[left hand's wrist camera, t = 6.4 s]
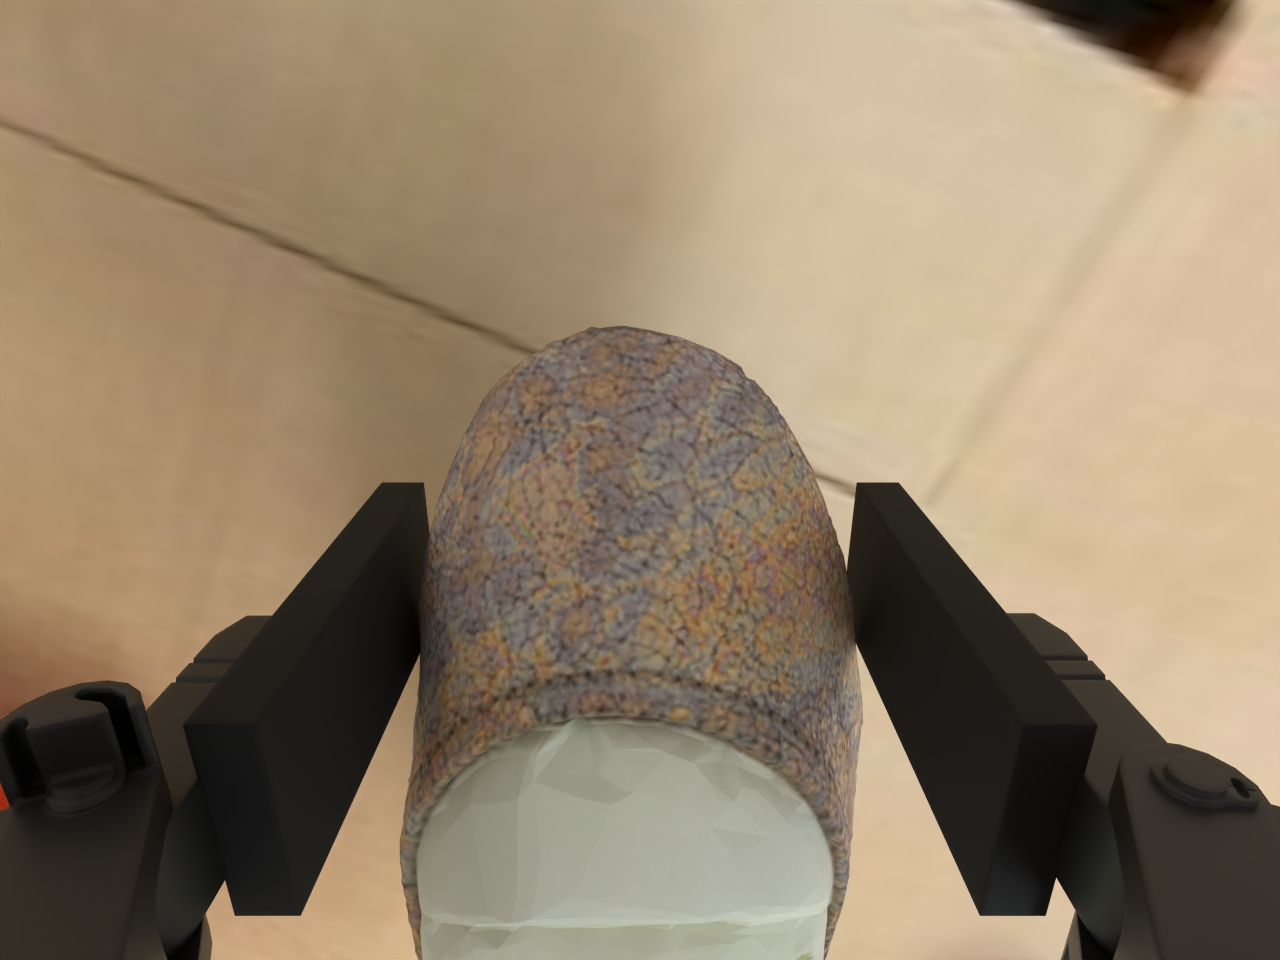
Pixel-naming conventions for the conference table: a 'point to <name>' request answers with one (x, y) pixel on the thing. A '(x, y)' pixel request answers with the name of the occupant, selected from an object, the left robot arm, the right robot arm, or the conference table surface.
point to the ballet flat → (631, 672)
